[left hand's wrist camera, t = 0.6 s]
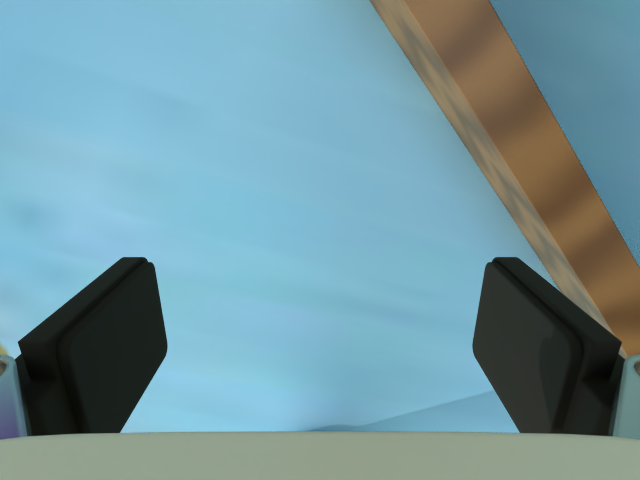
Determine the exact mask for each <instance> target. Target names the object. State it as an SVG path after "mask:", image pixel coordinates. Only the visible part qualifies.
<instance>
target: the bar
mask: <svg viewBox="0 0 640 480" xmlns="http://www.w3.org/2000/svg"><path fill="white" fill-rule="evenodd" d="M370 2H371V3H372V5H373V6H374V8H375V9H376V11H377V12H378V14H379V16H380V17H381V19H382V20H383V22H384V23H385V25H386V26H387V28H388V29H389V31H390V32H391V34H392V35H393V37H394V38H395V40H396V41H397V43H398V44H399V46H400V47H401V49H402V51H403V52H404V54H405V55H406V57H407V58H408V60H409V61H410V63H411V64H412V66H413V67H414V69H415V70H416V72H417V73H418V75H419V76H420V78H421V79H422V81H423V82H424V84H425V86H426V87H427V89H428V90H429V92H430V93H431V95H432V96H433V98H434V99H435V101H436V102H437V104H438V105H439V107H440V108H441V110H442V111H443V113H444V114H445V116H446V117H447V119H448V121H449V122H450V124H451V125H452V127H453V128H454V130H455V131H456V133H457V134H458V136H459V137H460V139H461V140H462V142H463V143H464V145H465V146H466V148H467V149H468V151H469V152H470V154H471V156H472V157H473V159H474V160H475V162H476V163H477V165H478V166H479V168H480V169H481V171H482V172H483V174H484V175H485V177H486V178H487V180H488V181H489V183H490V184H491V186H492V187H493V189H494V191H495V192H496V194H497V195H498V197H499V198H500V200H501V201H502V203H503V204H504V206H505V207H506V209H507V210H508V212H509V213H510V215H511V216H512V218H513V219H514V221H515V223H516V224H517V226H518V227H519V229H520V230H521V232H522V233H523V235H524V236H525V238H526V239H527V241H528V242H529V244H530V245H531V247H532V248H533V250H534V251H535V253H536V254H537V256H538V258H539V259H540V261H541V262H542V264H543V265H544V267H545V268H546V270H547V271H548V273H549V274H550V276H551V277H552V279H553V280H554V282H555V283H556V285H557V286H558V288H559V289H560V291H561V293H562V294H563V295H565V296H566V297H567V298H568V299H570V300H571V301H572V302H573V303H575V304H576V305H577V306H578V307H580V308H581V309H582V310H583V311H584V312H586V313H587V314H588V315H589V316H591V317H592V318H593V319H594V320H596V321H597V322H598V323H599V324H601V325H602V326H603V327H604V328H605V329H607V330H608V331H609V332H610V333H612V334H613V335H614V336H615V337H617V338H618V339H619V340H620V341H622V344H621V347H620V350H619V353H618V354H619V355H621V356H622V357H623V358H624V359H625V360H626V358H627V357H630V356H632V355H640V268H639V266H638V264H637V263H636V261H635V259H634V257H633V255H632V254H631V252H630V250H629V248H628V246H627V245H626V243H625V241H624V239H623V238H622V236H621V234H620V232H619V230H618V229H617V227H616V225H615V223H614V222H613V220H612V218H611V216H610V214H609V213H608V211H607V209H606V207H605V206H604V204H603V202H602V200H601V198H600V197H599V195H598V193H597V191H596V190H595V188H594V186H593V184H592V182H591V181H590V179H589V177H588V175H587V174H586V172H585V170H584V168H583V166H582V165H581V163H580V161H579V159H578V158H577V156H576V154H575V152H574V150H573V149H572V147H571V145H570V143H569V142H568V140H567V138H566V136H565V134H564V133H563V131H562V129H561V127H560V125H559V124H558V122H557V120H556V118H555V117H554V115H553V113H552V111H551V109H550V108H549V106H548V104H547V102H546V101H545V99H544V97H543V95H542V93H541V92H540V90H539V88H538V86H537V85H536V83H535V81H534V79H533V77H532V76H531V74H530V72H529V70H528V69H527V67H526V65H525V63H524V61H523V60H522V58H521V56H520V54H519V53H518V51H517V49H516V47H515V45H514V44H513V42H512V40H511V38H510V37H509V35H508V33H507V31H506V29H505V28H504V26H503V24H502V22H501V21H500V19H499V17H498V15H497V13H496V12H495V10H494V8H493V6H492V4H491V3H490V1H489V0H370Z"/></svg>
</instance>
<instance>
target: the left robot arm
mask: <svg viewBox="0 0 640 480" xmlns="http://www.w3.org/2000/svg"><path fill="white" fill-rule="evenodd" d="M18 344H19V347H20V350H21V353H22V354H21V355H19V356H18V357H17V358H16V359H15V360H14V358H13V357H10V356H8V355H0V480H640V355H632V356H630V357H627V358H626V360H625V359H624V358H623V357H622V356H621V355H619V354H618V353H619V350H620V347H621V344H622V341H620V340H619V339H618V338H617V337H615V336H614V335H613V334H612V333H610V332H609V331H608V330H607V329H605V328H604V327H603V326H602V325H601V324H599V323H598V322H597V321H596V320H594V319H593V318H592V317H591V316H589V315H588V314H587V313H586V312H584V311H583V310H582V309H581V308H580V307H578V306H577V305H576V304H575V303H573V302H572V301H571V300H570V299H568V298H567V297H566V296H565V295H563V294H562V293H561V292H560V291H559V290H557V289H556V288H555V287H554V286H552V285H551V284H550V283H549V282H547V281H546V280H545V279H544V278H542V277H541V276H540V275H539V274H538V273H536V272H535V271H534V270H533V269H531V268H530V267H529V266H528V265H526V264H525V263H524V262H523V261H521V260H520V259H519V258H517V257H496V258H494V259H493V261H492V262H489V263H487V265H486V267H485V272H484V278H483V284H482V290H481V296H480V302H479V308H478V314H477V320H476V326H475V332H474V338H473V353H474V356H475V358H476V360H477V361H478V363H479V365H480V366H481V368H482V370H483V371H484V373H485V375H486V376H487V378H488V380H489V381H490V383H491V385H492V386H493V388H494V390H495V391H496V393H497V395H498V396H499V398H500V400H501V401H502V403H503V405H504V407H505V408H506V410H507V412H508V413H509V415H510V417H511V418H512V420H513V422H514V423H515V425H516V427H517V428H518V430H519V432H520V433H489V432H363V431H277V432H151V433H120V432H121V430H122V428H123V427H124V425H125V423H126V422H127V420H128V418H129V417H130V415H131V413H132V412H133V410H134V408H135V407H136V405H137V403H138V401H139V400H140V398H141V396H142V395H143V393H144V391H145V390H146V388H147V386H148V385H149V383H150V381H151V380H152V378H153V376H154V375H155V373H156V371H157V370H158V368H159V366H160V365H161V363H162V361H163V360H164V358H165V356H166V353H167V338H166V332H165V326H164V320H163V314H162V308H161V302H160V296H159V290H158V284H157V278H156V272H155V267H154V265H153V263H151V262H148V261H147V259H146V258H144V257H123V258H121V259H120V260H119V261H117V262H116V263H115V264H114V265H112V266H111V267H110V268H109V269H107V270H106V271H105V272H104V273H102V274H101V275H100V276H99V277H98V278H96V279H95V280H94V281H93V282H91V283H90V284H89V285H88V286H86V287H85V288H84V289H83V290H81V291H80V292H79V293H78V294H77V295H75V296H74V297H73V298H72V299H70V300H69V301H68V302H67V303H65V304H64V305H63V306H62V307H60V308H59V309H58V310H57V311H56V312H54V313H53V314H52V315H51V316H49V317H48V318H47V319H46V320H44V321H43V322H42V323H41V324H39V325H38V326H37V327H36V328H35V329H33V330H32V331H31V332H30V333H28V334H27V335H26V336H25V337H23V338H22V339H21V340H20V341H18Z"/></svg>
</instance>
